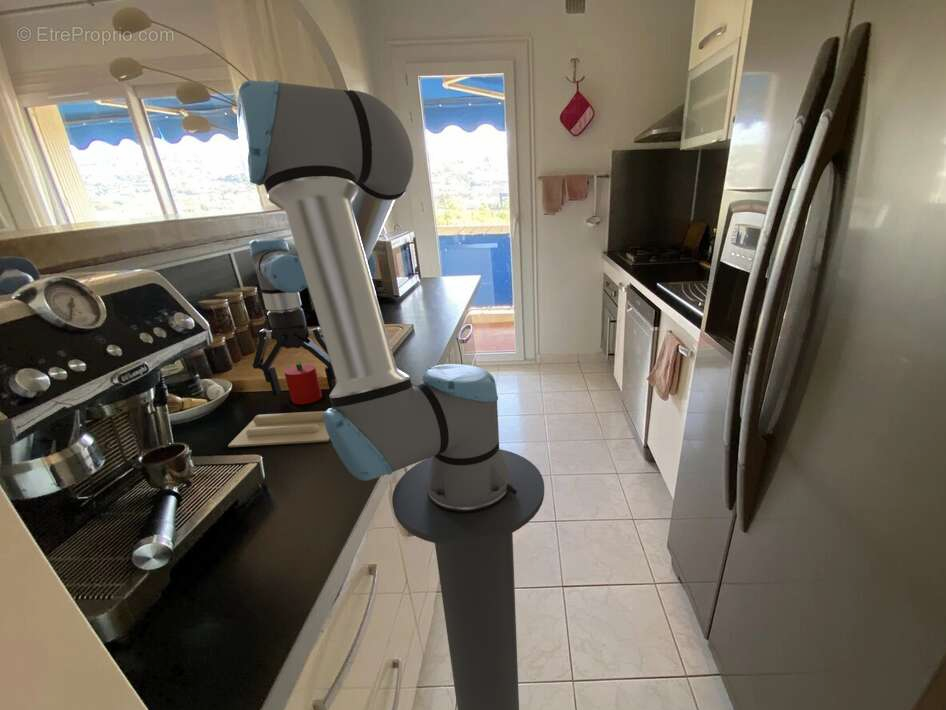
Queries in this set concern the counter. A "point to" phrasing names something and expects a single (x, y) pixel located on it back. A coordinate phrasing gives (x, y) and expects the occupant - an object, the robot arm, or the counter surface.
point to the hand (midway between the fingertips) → (305, 392)
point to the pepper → (303, 383)
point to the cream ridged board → (283, 429)
